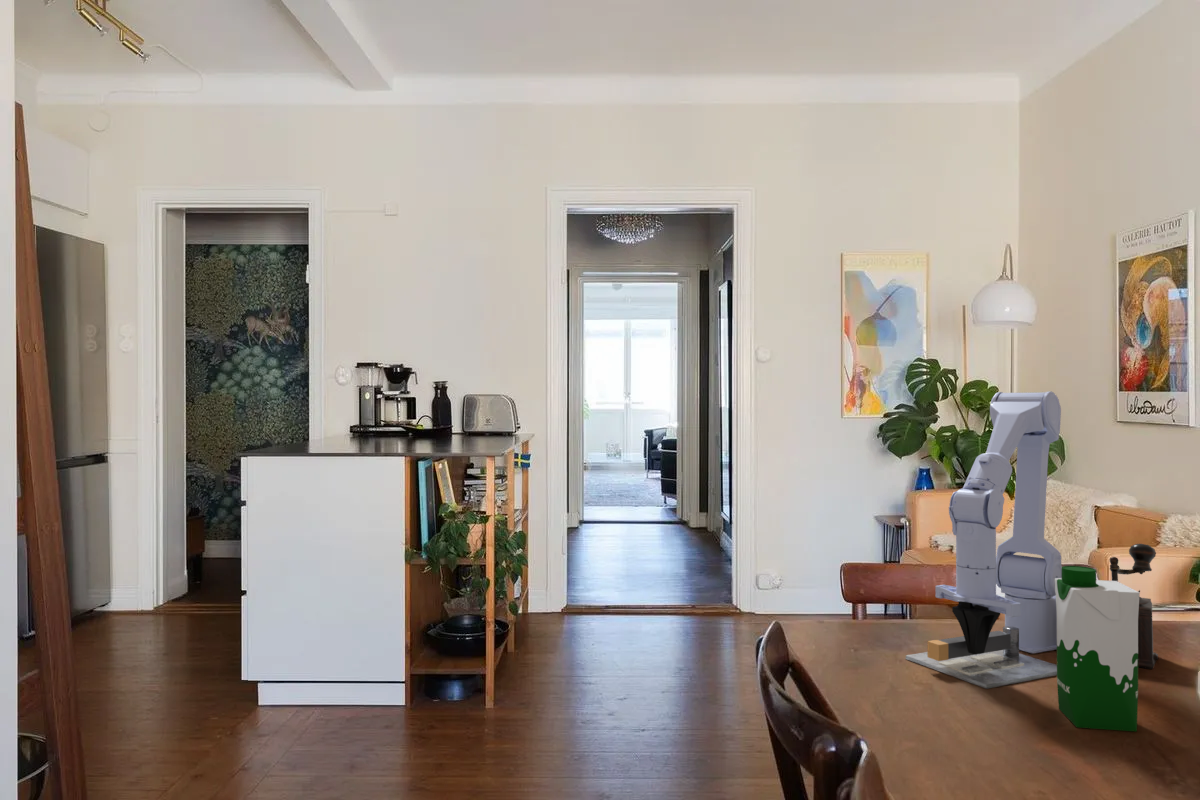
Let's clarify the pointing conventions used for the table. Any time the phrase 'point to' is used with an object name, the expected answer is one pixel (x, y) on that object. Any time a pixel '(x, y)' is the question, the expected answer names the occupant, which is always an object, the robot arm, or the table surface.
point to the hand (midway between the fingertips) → (976, 652)
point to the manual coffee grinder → (1141, 603)
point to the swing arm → (965, 646)
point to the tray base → (992, 665)
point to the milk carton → (1097, 650)
